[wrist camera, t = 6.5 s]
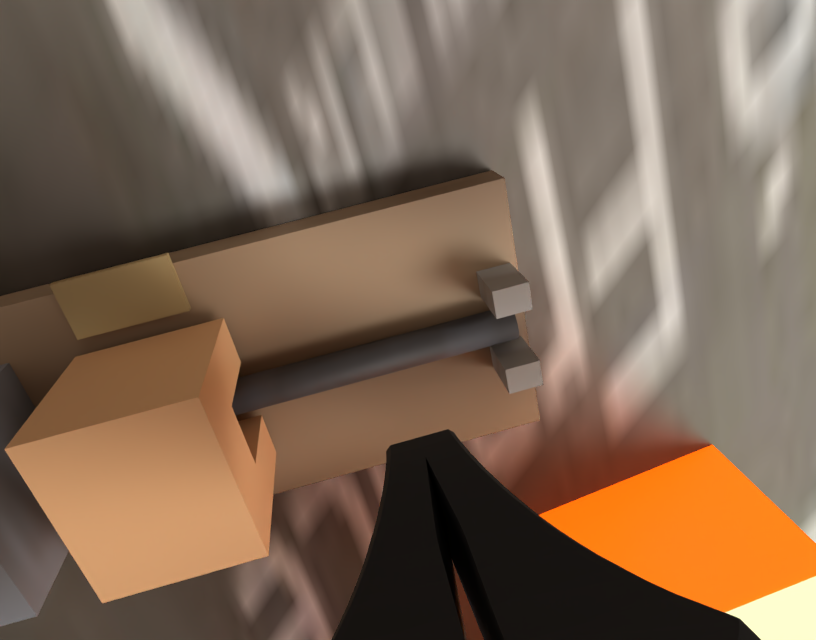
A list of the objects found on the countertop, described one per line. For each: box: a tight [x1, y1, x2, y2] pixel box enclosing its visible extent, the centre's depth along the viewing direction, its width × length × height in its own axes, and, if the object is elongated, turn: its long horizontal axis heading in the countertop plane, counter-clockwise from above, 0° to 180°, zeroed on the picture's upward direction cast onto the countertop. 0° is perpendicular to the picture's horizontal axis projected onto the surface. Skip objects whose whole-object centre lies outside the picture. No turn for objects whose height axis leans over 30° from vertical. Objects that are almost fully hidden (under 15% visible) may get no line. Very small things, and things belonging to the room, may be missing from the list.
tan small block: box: [4, 318, 276, 603], centre depth 15 cm, size 5×4×4 cm
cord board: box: [0, 170, 543, 626], centre depth 16 cm, size 9×17×5 cm, turn 102°
